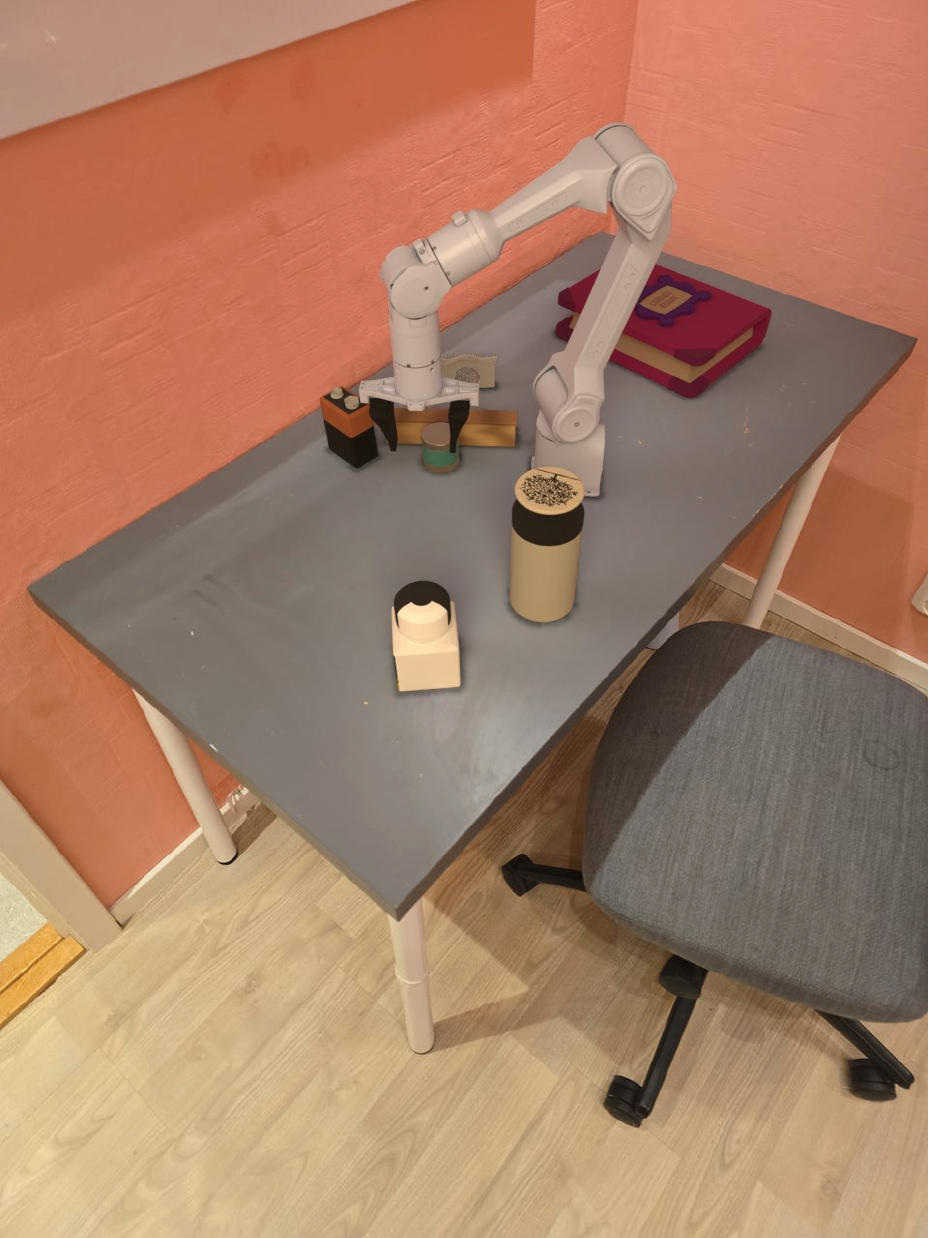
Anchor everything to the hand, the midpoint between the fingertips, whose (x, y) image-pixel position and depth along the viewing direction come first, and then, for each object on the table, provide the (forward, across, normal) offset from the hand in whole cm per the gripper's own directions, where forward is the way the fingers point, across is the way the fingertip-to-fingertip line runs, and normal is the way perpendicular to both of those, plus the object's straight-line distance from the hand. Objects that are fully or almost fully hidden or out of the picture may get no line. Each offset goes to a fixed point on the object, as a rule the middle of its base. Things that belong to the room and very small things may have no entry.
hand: (423, 447), depth 109 cm
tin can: (+9, +1, +9) cm, 13 cm away
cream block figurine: (+10, +3, -28) cm, 30 cm away
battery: (+10, -12, +10) cm, 18 cm away
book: (+10, +34, +42) cm, 55 cm away
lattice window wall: (+10, +2, +27) cm, 29 cm away
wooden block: (+9, +2, +14) cm, 17 cm away
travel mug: (+10, +16, -17) cm, 25 cm away
